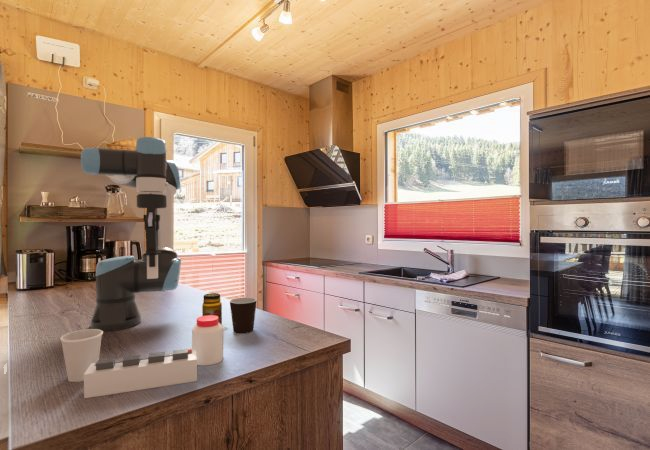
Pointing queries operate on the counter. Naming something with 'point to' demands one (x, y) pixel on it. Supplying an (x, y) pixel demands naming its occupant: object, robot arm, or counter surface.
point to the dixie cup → (80, 351)
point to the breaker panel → (140, 372)
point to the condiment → (212, 306)
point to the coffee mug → (243, 314)
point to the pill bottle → (208, 340)
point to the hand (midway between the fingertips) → (152, 278)
